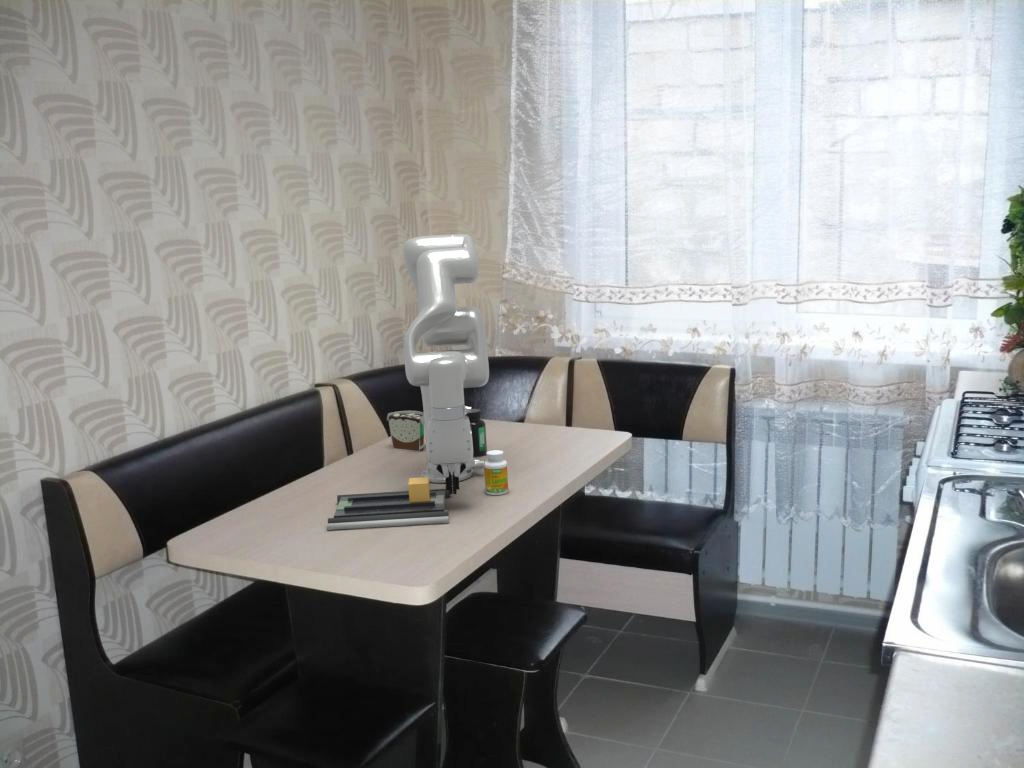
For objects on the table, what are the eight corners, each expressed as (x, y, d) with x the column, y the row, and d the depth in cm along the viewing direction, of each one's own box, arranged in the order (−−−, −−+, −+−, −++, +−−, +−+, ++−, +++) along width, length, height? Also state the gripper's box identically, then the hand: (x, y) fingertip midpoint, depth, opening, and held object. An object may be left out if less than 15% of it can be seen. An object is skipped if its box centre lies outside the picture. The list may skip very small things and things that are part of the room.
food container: (437, 447, 293) (435, 412, 291) (424, 452, 288) (421, 416, 286) (402, 443, 300) (400, 408, 298) (388, 448, 294) (386, 413, 293)
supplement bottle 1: (489, 456, 281) (487, 412, 279) (464, 458, 279) (461, 414, 277) (484, 450, 288) (481, 406, 285) (459, 452, 286) (456, 409, 284)
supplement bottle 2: (491, 497, 245) (489, 456, 243) (481, 491, 249) (479, 451, 248) (512, 493, 247) (510, 452, 245) (502, 487, 252) (499, 448, 250)
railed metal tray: (445, 499, 245) (444, 487, 244) (444, 518, 231) (443, 505, 231) (341, 505, 244) (340, 493, 244) (334, 524, 230) (333, 512, 230)
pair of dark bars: (450, 495, 247) (449, 487, 247) (448, 523, 227) (448, 514, 227) (338, 502, 247) (338, 494, 246) (327, 531, 227) (326, 522, 226)
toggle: (430, 496, 240) (428, 476, 239) (429, 502, 235) (428, 483, 234) (410, 497, 240) (409, 478, 239) (409, 503, 235) (408, 484, 234)
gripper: (481, 407, 238) (485, 486, 241) (414, 411, 237) (420, 490, 241) (481, 414, 231) (486, 495, 234) (413, 418, 230) (418, 499, 233)
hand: (452, 492), depth 237 cm, fingers closed
